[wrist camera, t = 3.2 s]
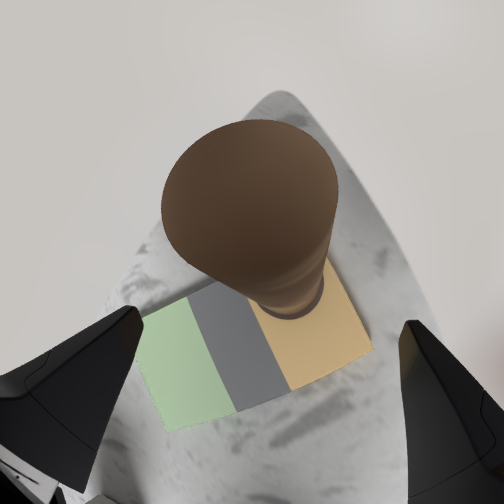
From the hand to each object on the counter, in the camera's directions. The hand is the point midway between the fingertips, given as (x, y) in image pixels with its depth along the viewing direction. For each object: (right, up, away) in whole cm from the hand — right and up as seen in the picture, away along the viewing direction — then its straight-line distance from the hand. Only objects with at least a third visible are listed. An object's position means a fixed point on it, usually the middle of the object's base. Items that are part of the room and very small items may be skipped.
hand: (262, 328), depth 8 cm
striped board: (-1, -4, +11) cm, 11 cm away
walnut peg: (+2, 0, +10) cm, 10 cm away
